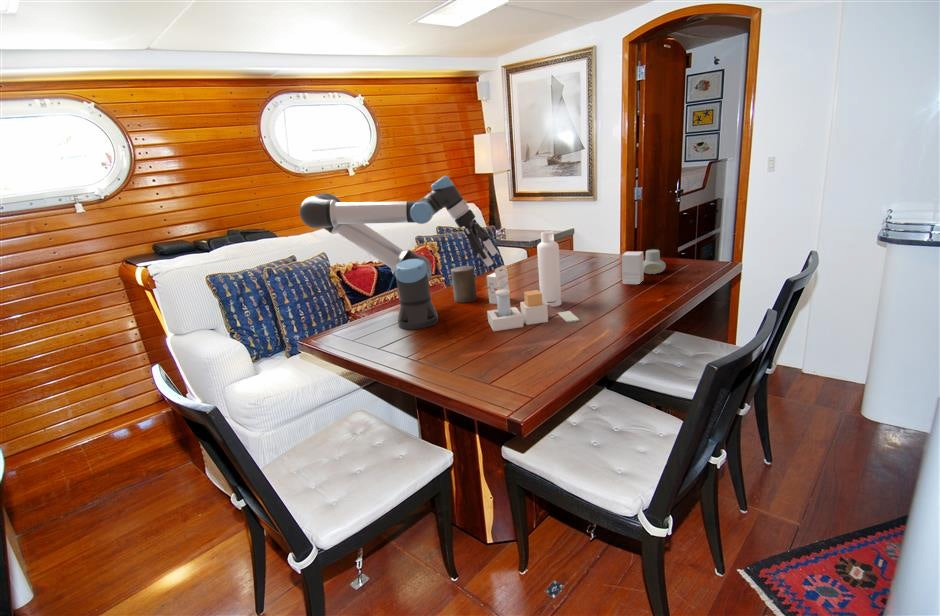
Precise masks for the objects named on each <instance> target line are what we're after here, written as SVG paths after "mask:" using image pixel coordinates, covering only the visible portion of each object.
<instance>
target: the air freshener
mask: <svg viewBox="0 0 940 616" xmlns="http://www.w3.org/2000/svg"><path fill="white" fill-rule="evenodd" d="M643 268H644V273H645V274H648V275H651V274H653V275H657V273H658V274H660V273H662V272H664V271H665V270H666V268H667V267H666V263H665V262H664V260H662V259H661V251H660V250H659V249H647V250H646V251H645V260H644V259H643Z"/></svg>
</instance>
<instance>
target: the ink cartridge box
mask: <svg viewBox="0 0 940 616" xmlns="http://www.w3.org/2000/svg"><path fill="white" fill-rule="evenodd" d="M508 275H509V274H508V269H507V265H506V264H503V265H502V266H499V267H497V268H495V269H494V272H493V273H490V274H489V275H486V282H487V283H486V285H487V295H488V301H489V304H491V305H492V304H493V305H497V295H496V291H497V290H501V289H508V290H510V287H509V276H508ZM509 297H510V295H509Z"/></svg>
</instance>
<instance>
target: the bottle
mask: <svg viewBox="0 0 940 616" xmlns="http://www.w3.org/2000/svg"><path fill="white" fill-rule="evenodd" d="M554 234H555V233H554V231H552V230H551V231H550V230H548V231H547V230H546V231H542V232H540V240H541V241H540V242H539V243H538V244H537V245H536V247H537V249H536V251H537V267H538V281H539V282H538V284H539V291H540V292H541V293H542V301H543V302H545V303H546V304H547V306H549V307H550V308H554V307H559V306H560V305H562V288H561V287H562V285H561V262H560V247H559V246H560V245H559V243H558V242H557V241H555V235H554Z"/></svg>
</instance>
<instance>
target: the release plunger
mask: <svg viewBox="0 0 940 616" xmlns="http://www.w3.org/2000/svg"><path fill="white" fill-rule="evenodd" d="M523 298H524V301H525V305H526V306H527V307H531V306H538V305H542V293H541V292H540V289H533V290H527V291H523Z"/></svg>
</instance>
